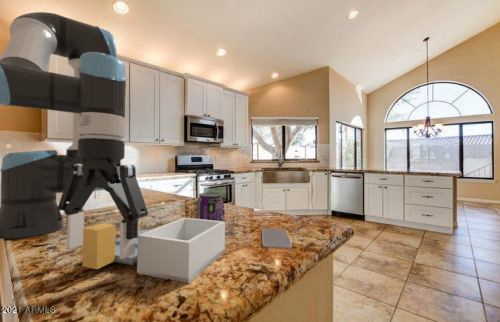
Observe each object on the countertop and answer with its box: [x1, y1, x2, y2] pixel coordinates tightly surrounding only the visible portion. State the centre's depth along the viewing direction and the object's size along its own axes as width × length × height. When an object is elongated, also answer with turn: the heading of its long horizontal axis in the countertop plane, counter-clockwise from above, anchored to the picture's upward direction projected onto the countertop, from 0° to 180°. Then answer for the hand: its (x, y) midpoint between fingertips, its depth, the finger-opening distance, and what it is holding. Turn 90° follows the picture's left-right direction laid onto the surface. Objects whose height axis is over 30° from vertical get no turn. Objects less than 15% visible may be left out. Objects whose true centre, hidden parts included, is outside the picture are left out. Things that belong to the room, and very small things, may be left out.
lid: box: [81, 222, 151, 270], centre depth 51 cm, size 12×20×8 cm, turn 162°
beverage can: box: [196, 192, 224, 222], centre depth 64 cm, size 7×7×12 cm
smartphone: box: [261, 227, 293, 249], centre depth 65 cm, size 7×1×15 cm
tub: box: [136, 217, 226, 284], centre depth 49 cm, size 11×15×7 cm
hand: (100, 251), depth 44 cm, fingers open, 12 cm apart
